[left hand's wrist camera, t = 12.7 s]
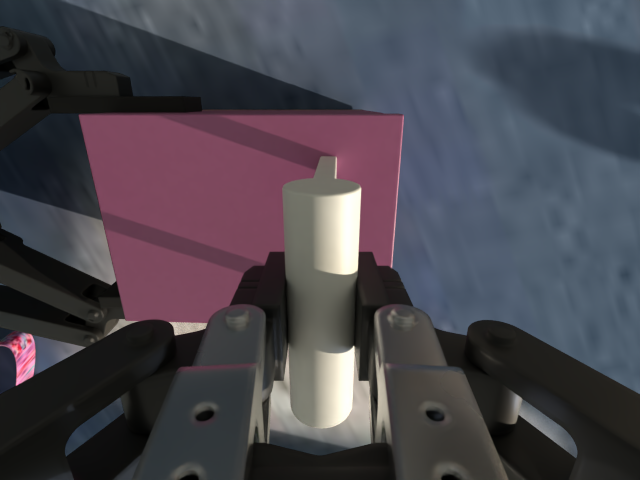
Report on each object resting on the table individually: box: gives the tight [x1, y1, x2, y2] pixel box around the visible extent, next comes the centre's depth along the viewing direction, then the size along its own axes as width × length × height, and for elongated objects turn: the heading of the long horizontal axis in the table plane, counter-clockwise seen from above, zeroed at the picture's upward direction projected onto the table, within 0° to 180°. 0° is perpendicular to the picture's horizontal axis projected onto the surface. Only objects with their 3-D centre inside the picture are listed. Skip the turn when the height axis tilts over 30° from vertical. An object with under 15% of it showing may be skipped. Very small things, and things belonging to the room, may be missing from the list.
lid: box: [79, 113, 404, 428], centre depth 14 cm, size 14×10×9 cm
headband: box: [0, 331, 35, 385], centre depth 31 cm, size 11×4×2 cm, turn 158°
